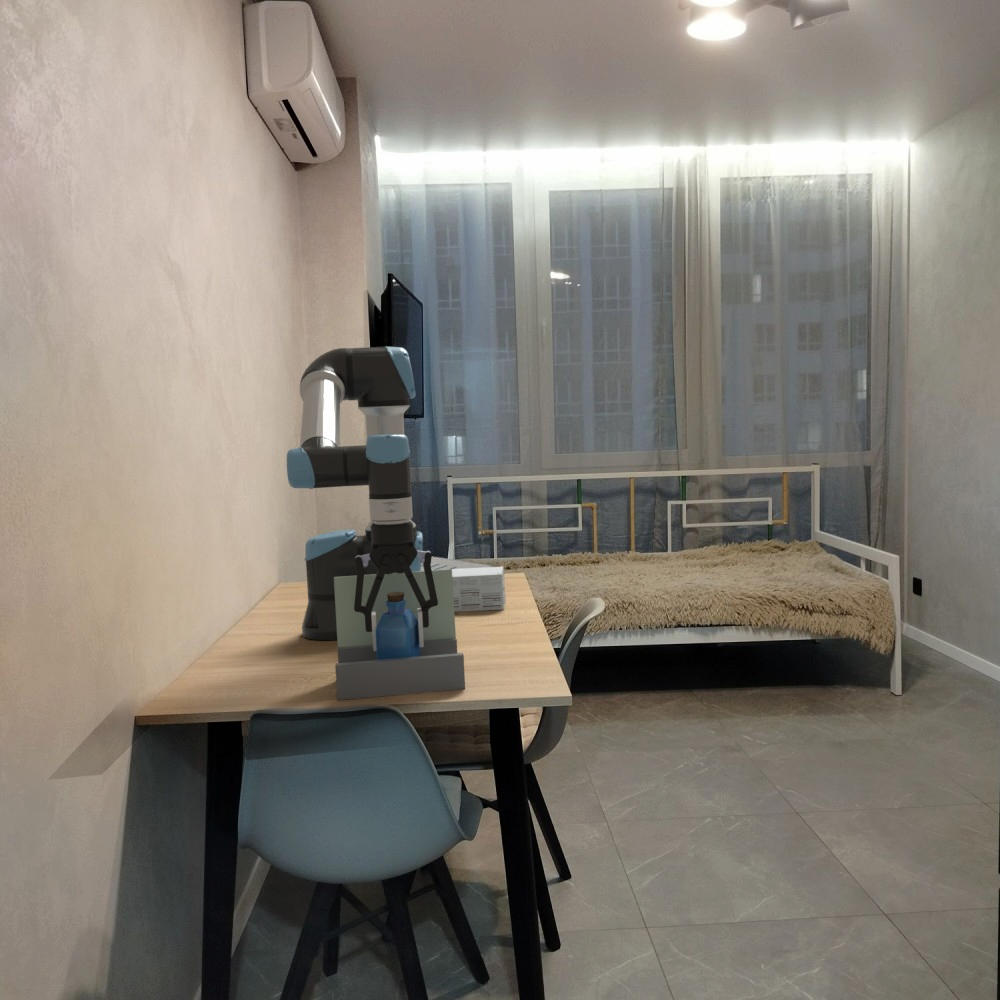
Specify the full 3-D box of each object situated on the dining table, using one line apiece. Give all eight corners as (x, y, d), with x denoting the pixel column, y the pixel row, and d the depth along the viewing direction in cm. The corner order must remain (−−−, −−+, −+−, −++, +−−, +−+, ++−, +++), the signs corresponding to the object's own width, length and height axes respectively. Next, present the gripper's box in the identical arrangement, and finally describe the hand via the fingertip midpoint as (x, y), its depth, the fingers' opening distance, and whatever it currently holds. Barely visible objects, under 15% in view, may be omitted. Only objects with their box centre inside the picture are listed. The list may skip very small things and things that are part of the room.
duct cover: (337, 648, 160) (338, 647, 161) (455, 639, 163) (455, 638, 164) (333, 577, 160) (334, 577, 161) (451, 569, 163) (451, 569, 164)
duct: (339, 679, 160) (337, 647, 160) (457, 669, 163) (455, 638, 163) (337, 700, 147) (335, 665, 147) (465, 688, 150) (463, 655, 150)
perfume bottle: (411, 664, 152) (407, 597, 151) (377, 664, 153) (373, 597, 152) (420, 654, 158) (416, 590, 157) (387, 654, 159) (384, 590, 158)
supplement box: (505, 600, 229) (504, 565, 229) (504, 610, 216) (502, 573, 216) (442, 602, 230) (441, 568, 229) (437, 613, 217) (435, 576, 216)
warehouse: (395, 587, 258) (394, 562, 257) (435, 580, 267) (434, 556, 266) (453, 600, 234) (451, 572, 234) (494, 592, 243) (493, 565, 243)
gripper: (332, 527, 148) (340, 657, 150) (450, 520, 151) (456, 647, 153) (334, 522, 155) (341, 646, 157) (446, 515, 158) (452, 637, 160)
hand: (398, 647), depth 155 cm, fingers closed on perfume bottle, 7 cm apart
